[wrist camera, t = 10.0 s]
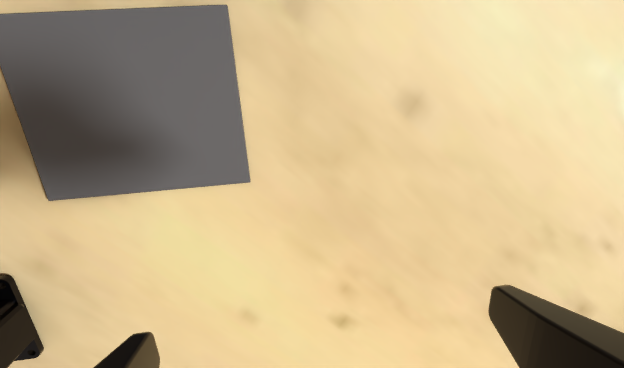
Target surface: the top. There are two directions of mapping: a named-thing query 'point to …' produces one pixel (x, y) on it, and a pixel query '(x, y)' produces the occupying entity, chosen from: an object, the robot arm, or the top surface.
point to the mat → (126, 98)
